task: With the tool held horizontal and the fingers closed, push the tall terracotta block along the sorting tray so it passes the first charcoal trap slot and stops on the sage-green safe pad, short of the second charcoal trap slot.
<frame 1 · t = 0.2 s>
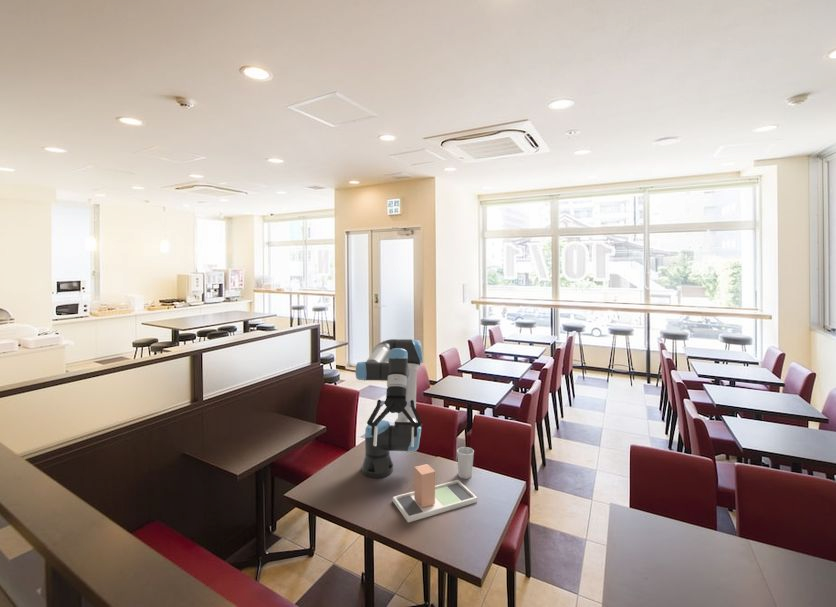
hand: (393, 446, 145), 35 cm above the table, tool tilted 35°, fingers open, 13 cm apart
cup: (465, 475, 192), on the table
block: (424, 485, 168), point 9 cm above the table, slide at 0.0 cm
sorting tray: (435, 501, 171), on the table
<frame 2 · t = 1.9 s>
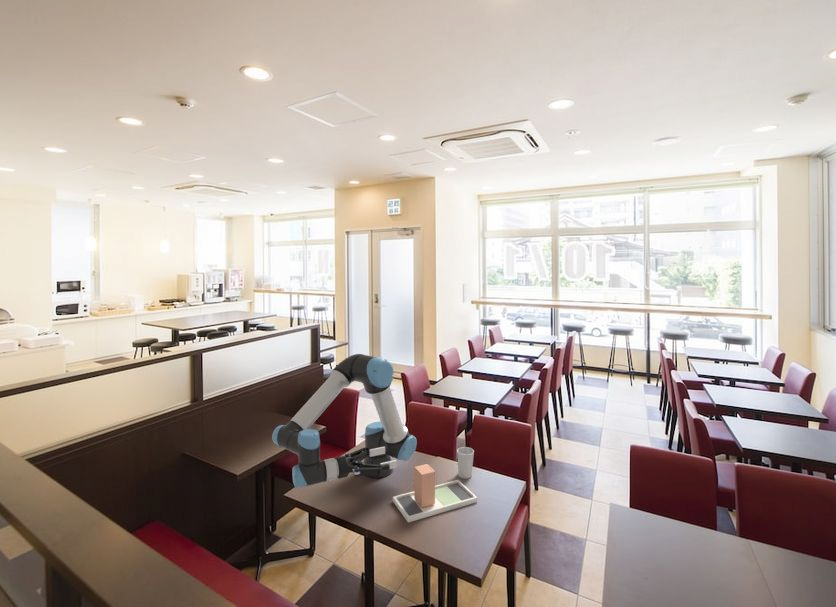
hand: (390, 456, 160), 24 cm above the table, tool horizontal, fingers open, 12 cm apart
nothing on the table moved.
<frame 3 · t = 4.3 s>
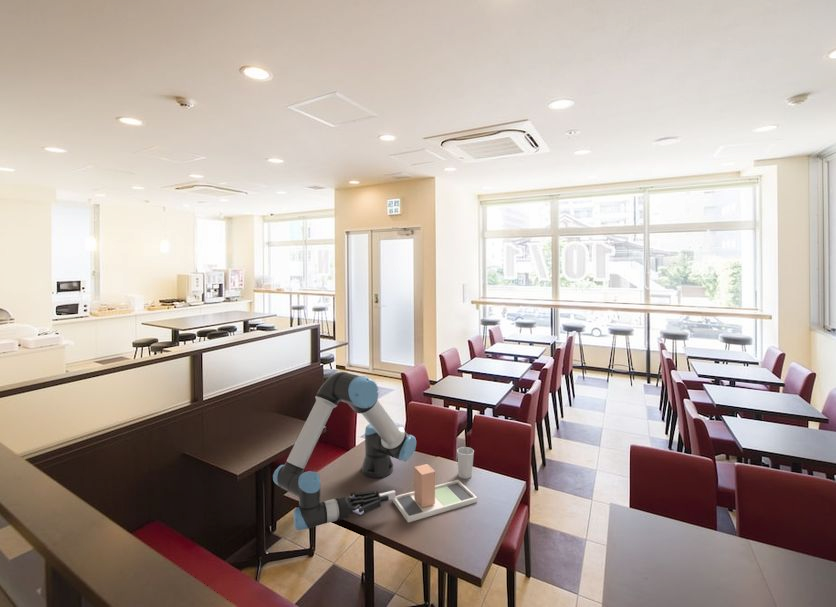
hand: (394, 494, 162), 8 cm above the table, tool horizontal, fingers closed
nothing on the table moved.
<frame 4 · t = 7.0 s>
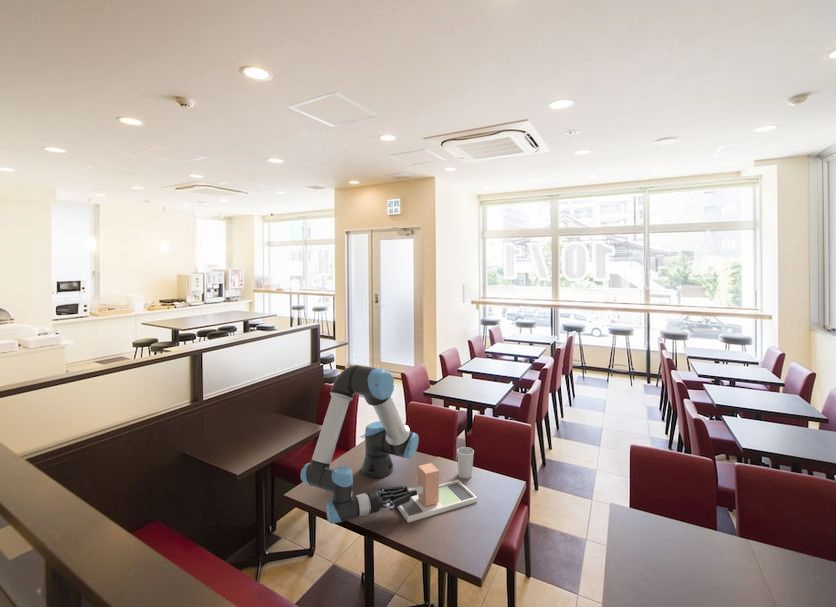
hand: (422, 489, 166), 8 cm above the table, tool horizontal, fingers closed
block: (428, 484, 169), point 9 cm above the table, slide at 1.8 cm, touching gripper
everything else where it was.
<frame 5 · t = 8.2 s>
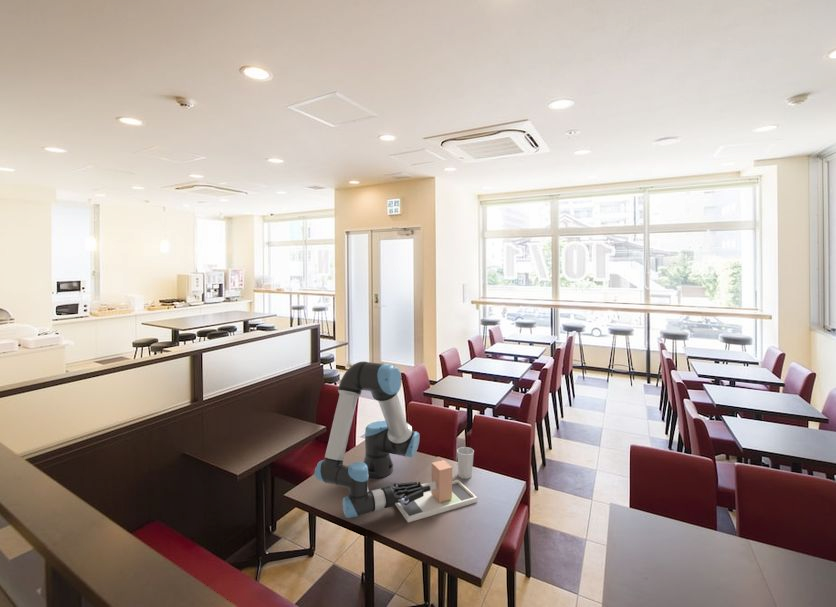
hand: (435, 484, 169), 8 cm above the table, tool horizontal, fingers closed
block: (441, 480, 171), point 9 cm above the table, slide at 8.1 cm, touching gripper
everything else where it was.
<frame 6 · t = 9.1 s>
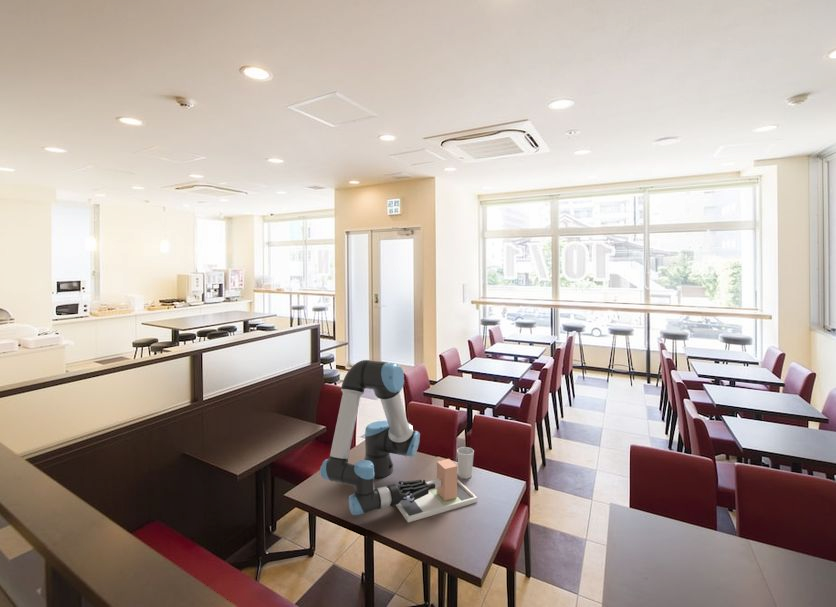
hand: (440, 482, 171), 8 cm above the table, tool horizontal, fingers closed
block: (446, 479, 172), point 9 cm above the table, slide at 10.6 cm, touching gripper
everything else where it was.
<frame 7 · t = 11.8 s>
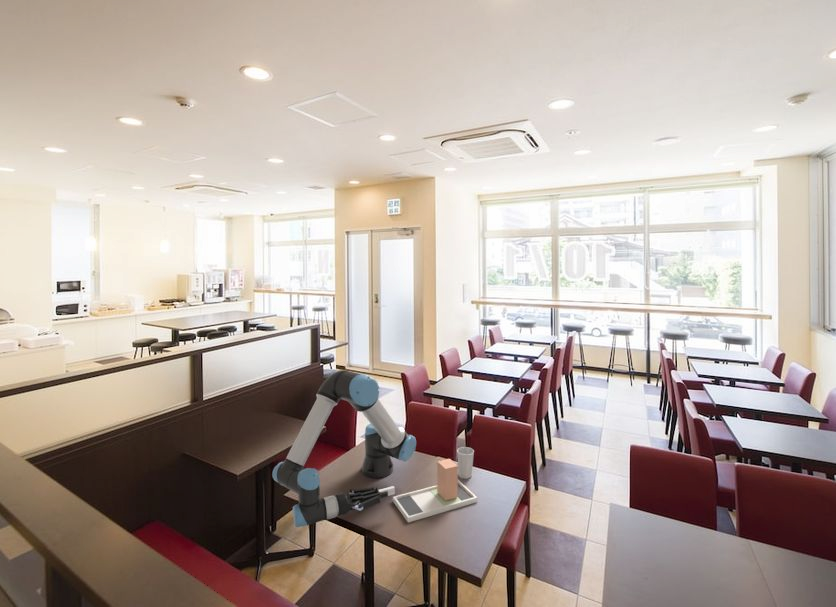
hand: (394, 490, 162), 10 cm above the table, tool horizontal, fingers closed
block: (447, 479, 172), point 9 cm above the table, slide at 10.8 cm
everything else where it was.
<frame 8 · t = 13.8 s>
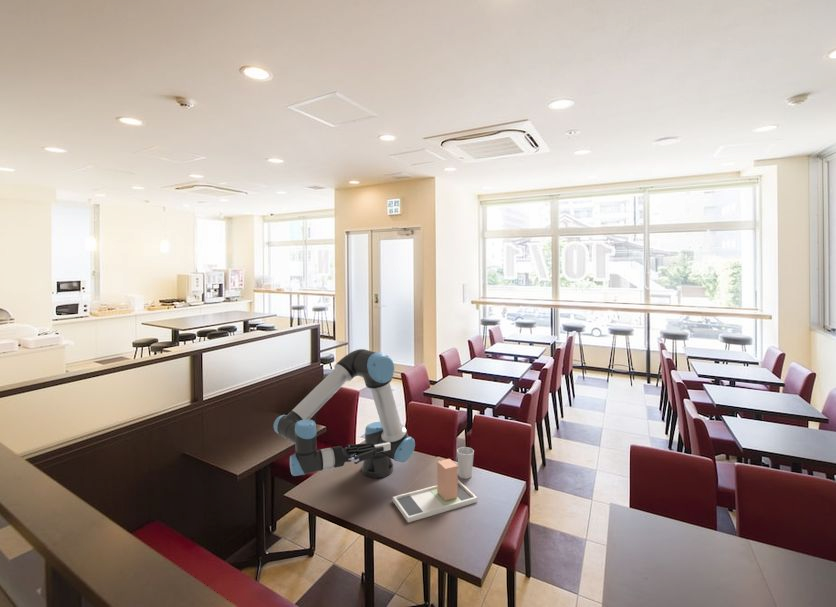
hand: (389, 445, 165), 26 cm above the table, tool horizontal, fingers closed
nothing on the table moved.
at the end: block slide at 10.8 cm; cup moved 0.2 cm from its start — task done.
